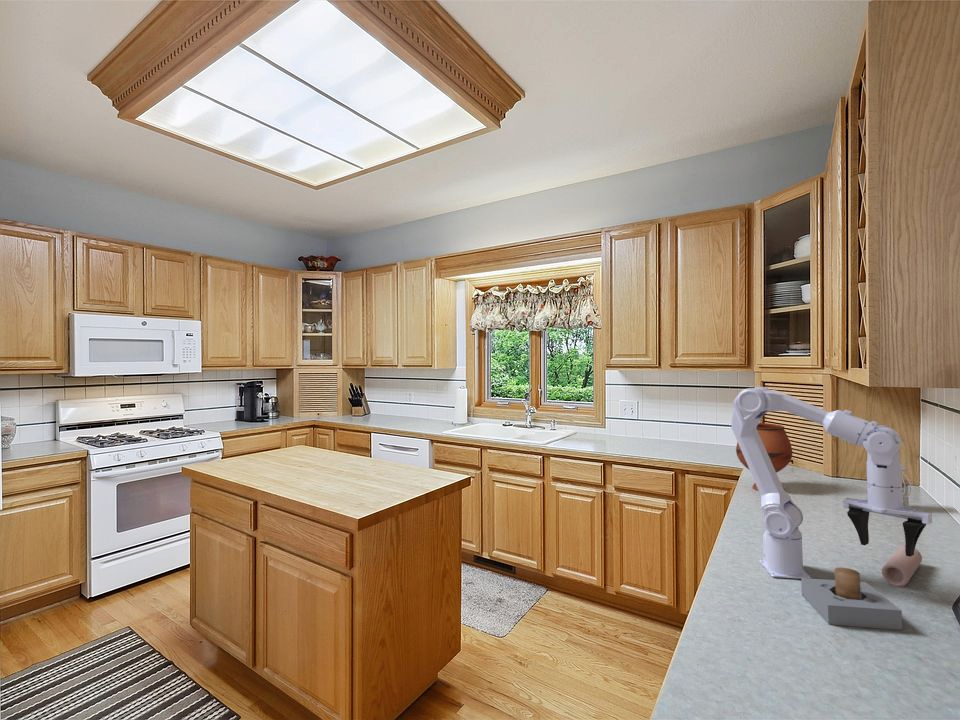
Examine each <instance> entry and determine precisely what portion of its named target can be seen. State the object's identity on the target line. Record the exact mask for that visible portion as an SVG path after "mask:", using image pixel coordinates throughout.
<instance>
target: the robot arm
mask: <svg viewBox="0 0 960 720" xmlns="http://www.w3.org/2000/svg"><path fill="white" fill-rule="evenodd" d="M732 404H733V411H732V418H731V423H730V424H731V429H732V433H733V434H734V437H735V439H736V441H737V442H738V444H739V446H740V448H741V451H742V453H743V455H744V458H745V460H746V462H747V465H748V467H749V469H750V470H749V469H748V470H749V471H750V474H751V476H752V478H753V481H754V484H755V483H756V486H757V488H758V490H757V491H758V492H759V495H760V508H761V510H762V513H763V520H762V521H763V525H764V528H765V531H764V532H763V535H762V551H763V552H762V553H763V554H762V555H763V556H762V557H763V559H759V560H758V561H759V563H760V564H761V566H763V567H764V569H765V570H766V571H767V572H768V574H770V575H771V577H773V578H783V579H784V578H785V579H801V578H808V579H812V577H811V576H810V574H808V573H807V572H806V571H805V570H804V562H803V561H804V560H803V559H804V558H803V557H804V556H803V553H804V552H803V533H801V530H800V528H799V526H800V525H802V523H803V521H804V516H803V512H802V510H801V509H800V508H799V507H798V506H797V505H796V504H795V503H794V502H793V500H792V498H791V496H790V495H789V493H787V492H786V490H784V487H783V485H782V483H781V481H780V478H779V476H778V473H776V471H775V469H774V467H773V465H772V462H771V460H770V458H769V456H768V453H767V451H766V449H765V447H764V444H763V442H762V440H761V438H760V435H759V433H758V431H757V429H756V427H757V425H758V423H761V420H762V418H763V416H764V415H766V414H767V413H770V412H781V411H782V412H787V413H789V414H792V415H794V416H797V417H800V418H803V419H806V420H809V421H811V422H813V423H816V424H819V425H821V426H822V427H823V429H824V431H825V432H826V434H829V435H831V436H833V437H836V438H838V439H840V440H843V441H846V442H847V443H850V444H851V445H852V444H853V445H855V446H857V447H864V449H865V450H866V456H867V457H866V459H867V460H866V462H865V463H866V467H865V469H866V486H867V487H866V493H867V499H861V498H860V499H858V498H851V497H845V498H843V499H842V504H843V505H842V507H843V508H845V509H848V511H846V513H847V517H848V518H849V519H850V522H852V525H853V526H854V528H855V530H856V532H857V535H858V539H859V542H860V545H861V546H866V545H868V544H869V541H870V537H869V536H870V535H869V518H870V513H873V514H878V515H885V516H888V517H894V518H899V519H904V520H905V521H903V522H902V528H903V532H904V541H905V545H904V546H905V553H906V556H909V557H911V556H913V555H914V550H915V549H916V546H917V542H918V540H919V538H920V536H921V534H922V532H923V530H924V529H925V527H926V526H927V525H931V524H932V523H933V512H927V511H924V510H919V509H916V508H912V507H909V508H908V507H904V506H903V496H902V494H903V492H902V490H903V488H902V478H903V474H902V473H903V471H902V470H901V465H902V463H901V454H900V448H901V446H902V438H901V436H900V433H898V432H897V431H896V430H895V429H893V428H891V427H890V426H888V425H879V422H877V421H875V420H872V421H869V420H867V419H866V420H865V419H864V418H860V417H858V416H855V415H853V411H851V410H849V409H845V410H844V411H843V410H840V409H837V410H834V411H830V412H829V411H827V410H824V409H823V408H820V407H818V406H816V405H813V404H811V403H808V402H806V401H804V400H801V399H799V398H797V397H794V396H792V395H789V394H787V393H784V392H783V391H779V390H776V389H769V388H768V387H765V386H755V387H753V388H752V387H749V388H745V389H742V390H741V391H740V392H739V393H738V394H737V396H736V397H735V398H734V400H733V401H732Z"/></svg>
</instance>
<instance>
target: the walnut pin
mask: <svg viewBox="0 0 960 720" xmlns="http://www.w3.org/2000/svg"><path fill="white" fill-rule="evenodd" d="M860 573H861V572H859V571H857V570H854V569H852V568H848V567H835V568H834V580H835V593H836V595H837V596H840V597H843V598H846V599H852V600H861V594H860V582H861V574H860Z"/></svg>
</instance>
